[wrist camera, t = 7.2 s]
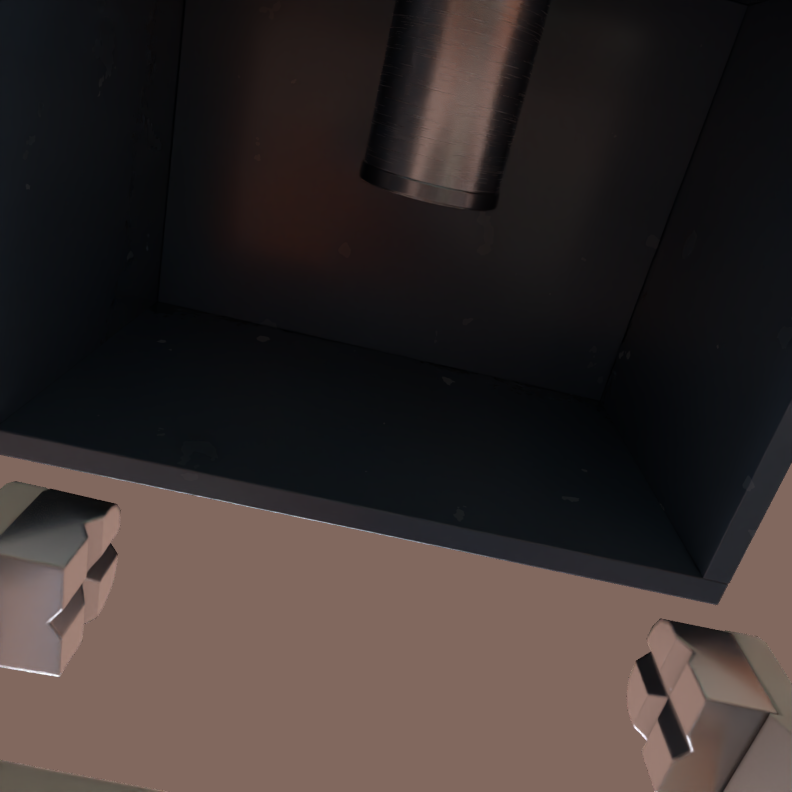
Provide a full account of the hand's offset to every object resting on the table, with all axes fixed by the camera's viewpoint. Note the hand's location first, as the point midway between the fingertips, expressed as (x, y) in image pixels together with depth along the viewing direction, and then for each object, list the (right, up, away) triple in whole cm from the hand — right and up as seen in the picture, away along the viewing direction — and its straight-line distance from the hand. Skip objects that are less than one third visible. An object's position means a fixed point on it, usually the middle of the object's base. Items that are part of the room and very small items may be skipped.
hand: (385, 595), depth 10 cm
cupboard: (+5, +25, +18) cm, 31 cm away
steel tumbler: (+4, +23, +16) cm, 28 cm away
